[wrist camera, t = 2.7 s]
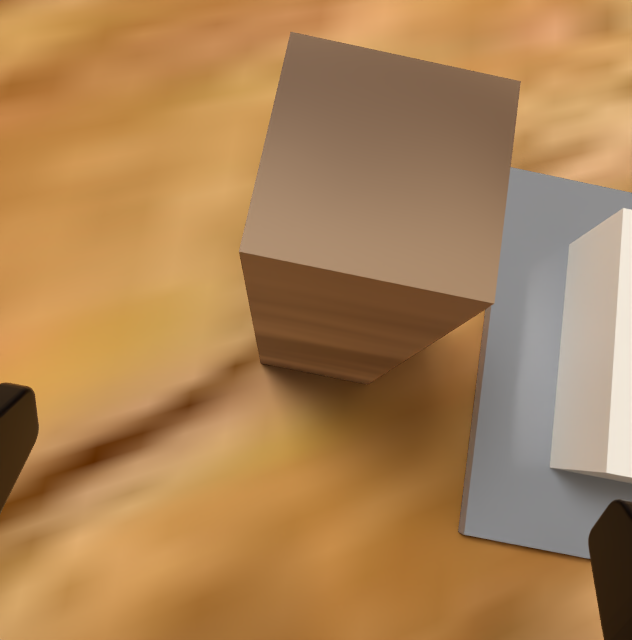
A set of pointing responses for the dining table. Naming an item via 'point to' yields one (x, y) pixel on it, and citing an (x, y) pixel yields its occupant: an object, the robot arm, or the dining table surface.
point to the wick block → (374, 207)
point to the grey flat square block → (554, 369)
